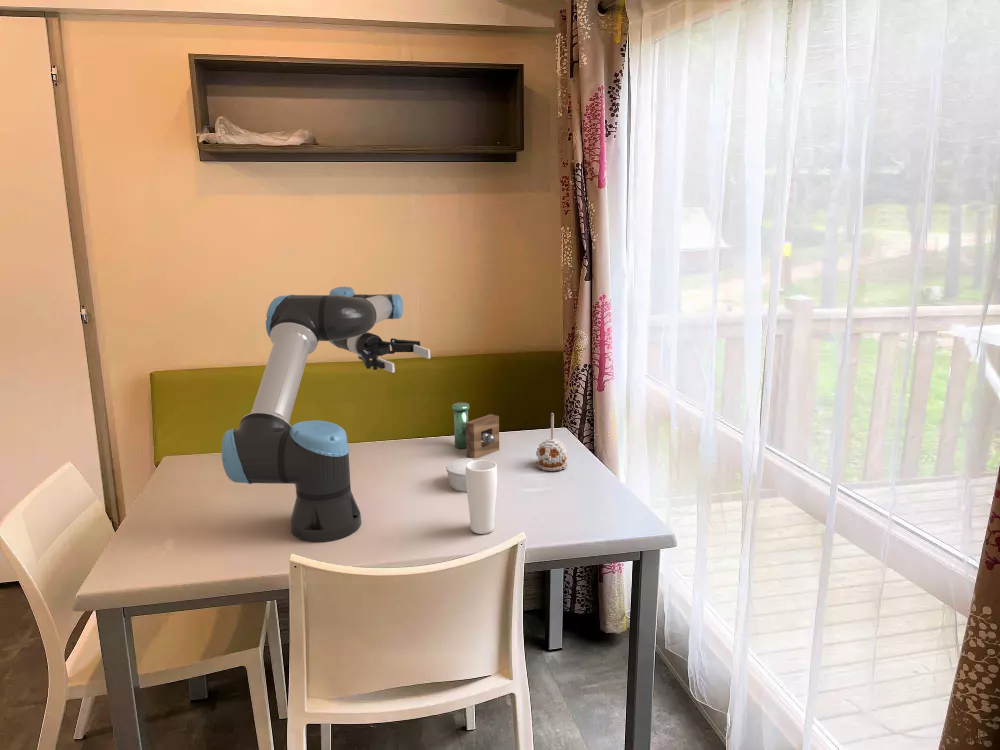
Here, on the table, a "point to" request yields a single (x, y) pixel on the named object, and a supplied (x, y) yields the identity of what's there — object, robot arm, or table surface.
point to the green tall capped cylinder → (460, 426)
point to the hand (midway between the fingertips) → (411, 361)
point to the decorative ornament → (552, 452)
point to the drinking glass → (481, 495)
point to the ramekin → (458, 473)
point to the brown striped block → (474, 436)
